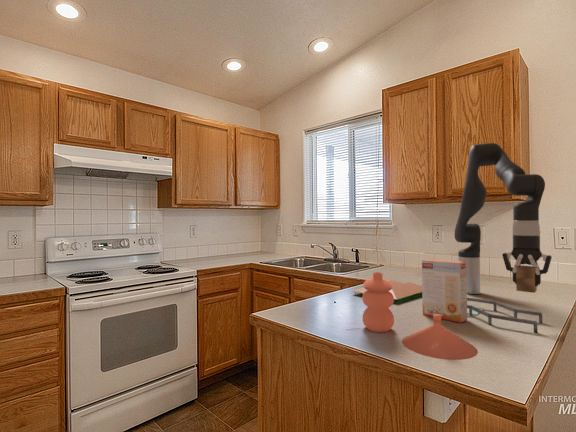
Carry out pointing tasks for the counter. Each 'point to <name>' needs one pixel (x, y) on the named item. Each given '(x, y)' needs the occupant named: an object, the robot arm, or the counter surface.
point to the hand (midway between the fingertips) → (526, 284)
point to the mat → (474, 311)
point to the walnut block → (525, 279)
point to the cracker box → (444, 289)
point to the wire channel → (505, 316)
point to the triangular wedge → (400, 290)
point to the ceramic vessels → (423, 342)
